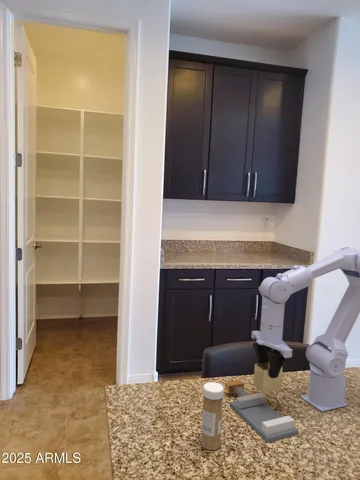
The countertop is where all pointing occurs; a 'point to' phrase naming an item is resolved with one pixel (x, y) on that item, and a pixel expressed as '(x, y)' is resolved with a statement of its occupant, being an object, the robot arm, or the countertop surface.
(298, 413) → the countertop surface
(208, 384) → the sprinkles bottle
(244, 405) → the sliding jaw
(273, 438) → the vise base
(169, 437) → the countertop surface
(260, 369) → the brass block
